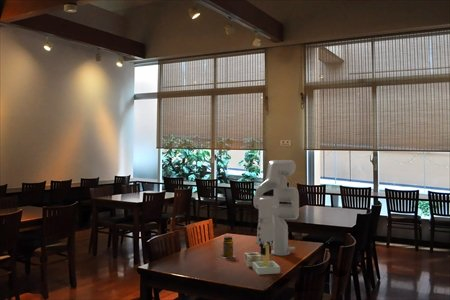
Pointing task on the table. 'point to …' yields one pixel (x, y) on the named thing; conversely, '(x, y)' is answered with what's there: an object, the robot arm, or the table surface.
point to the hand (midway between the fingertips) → (265, 253)
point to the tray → (266, 268)
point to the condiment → (227, 247)
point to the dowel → (266, 256)
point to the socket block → (251, 258)
